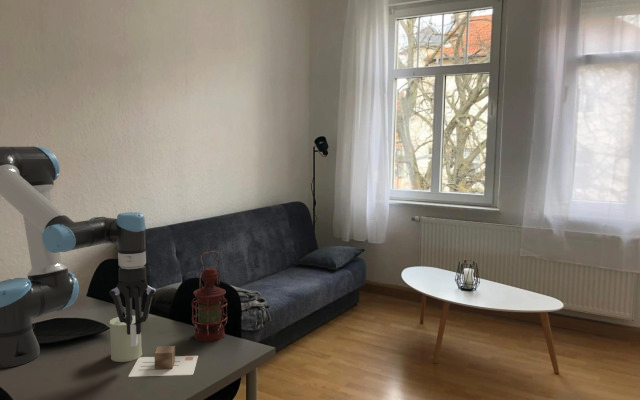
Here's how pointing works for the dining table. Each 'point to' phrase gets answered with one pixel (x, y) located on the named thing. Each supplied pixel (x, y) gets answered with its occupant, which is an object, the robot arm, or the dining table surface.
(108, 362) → the dining table surface
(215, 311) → the lantern
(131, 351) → the can
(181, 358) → the letter
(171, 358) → the block
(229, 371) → the dining table surface
